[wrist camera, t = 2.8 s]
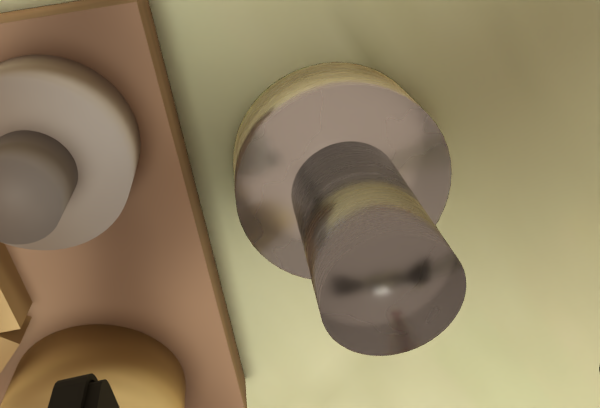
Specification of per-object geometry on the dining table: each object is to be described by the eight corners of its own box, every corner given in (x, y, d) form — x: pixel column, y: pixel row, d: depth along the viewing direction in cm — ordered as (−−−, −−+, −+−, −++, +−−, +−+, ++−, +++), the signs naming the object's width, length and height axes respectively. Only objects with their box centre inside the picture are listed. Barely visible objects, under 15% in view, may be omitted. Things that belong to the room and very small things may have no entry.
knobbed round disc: (422, 45, 17) (551, 136, 10) (426, 223, 20) (526, 375, 14) (214, 81, 16) (215, 196, 10) (251, 255, 20) (269, 428, 13)
